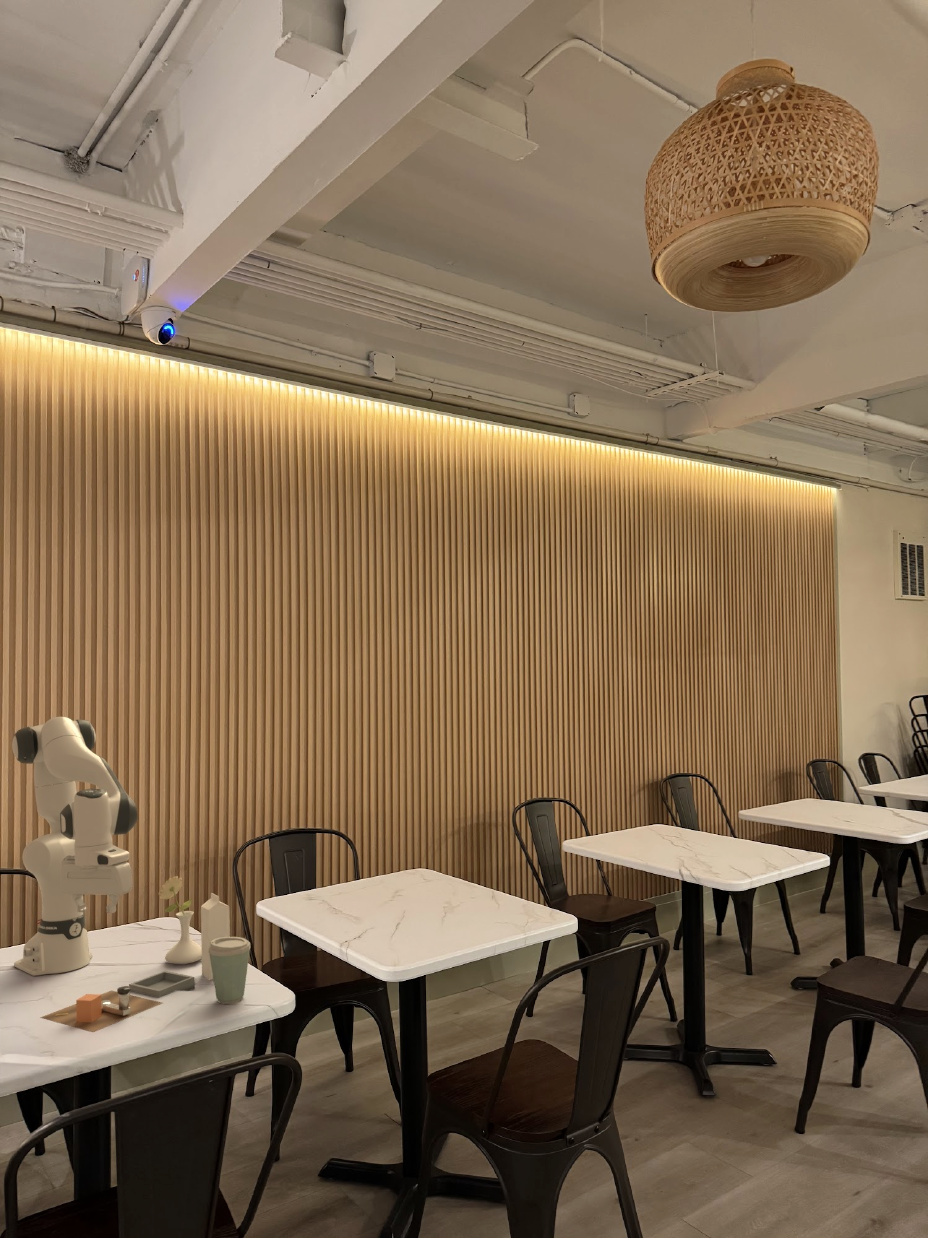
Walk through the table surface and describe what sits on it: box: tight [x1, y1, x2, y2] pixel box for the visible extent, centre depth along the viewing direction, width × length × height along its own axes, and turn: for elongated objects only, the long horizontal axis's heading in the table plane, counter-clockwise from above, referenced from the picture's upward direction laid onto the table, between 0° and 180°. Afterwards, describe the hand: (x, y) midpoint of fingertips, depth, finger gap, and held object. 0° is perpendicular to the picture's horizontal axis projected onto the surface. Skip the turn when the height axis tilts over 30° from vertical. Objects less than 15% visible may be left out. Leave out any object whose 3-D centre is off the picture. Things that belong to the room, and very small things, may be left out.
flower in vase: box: [158, 875, 202, 965], centre depth 256 cm, size 13×11×25 cm
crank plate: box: [40, 990, 163, 1033], centre depth 215 cm, size 20×20×2 cm
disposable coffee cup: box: [208, 936, 251, 1005], centre depth 224 cm, size 11×11×15 cm
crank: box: [101, 985, 132, 1016], centre depth 214 cm, size 11×4×6 cm, turn 59°
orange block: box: [75, 993, 102, 1022], centre depth 210 cm, size 4×4×5 cm
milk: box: [200, 892, 231, 981], centre depth 244 cm, size 6×6×22 cm
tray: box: [128, 970, 196, 998], centre depth 231 cm, size 12×12×3 cm
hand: (96, 912), depth 216 cm, fingers open, 8 cm apart
